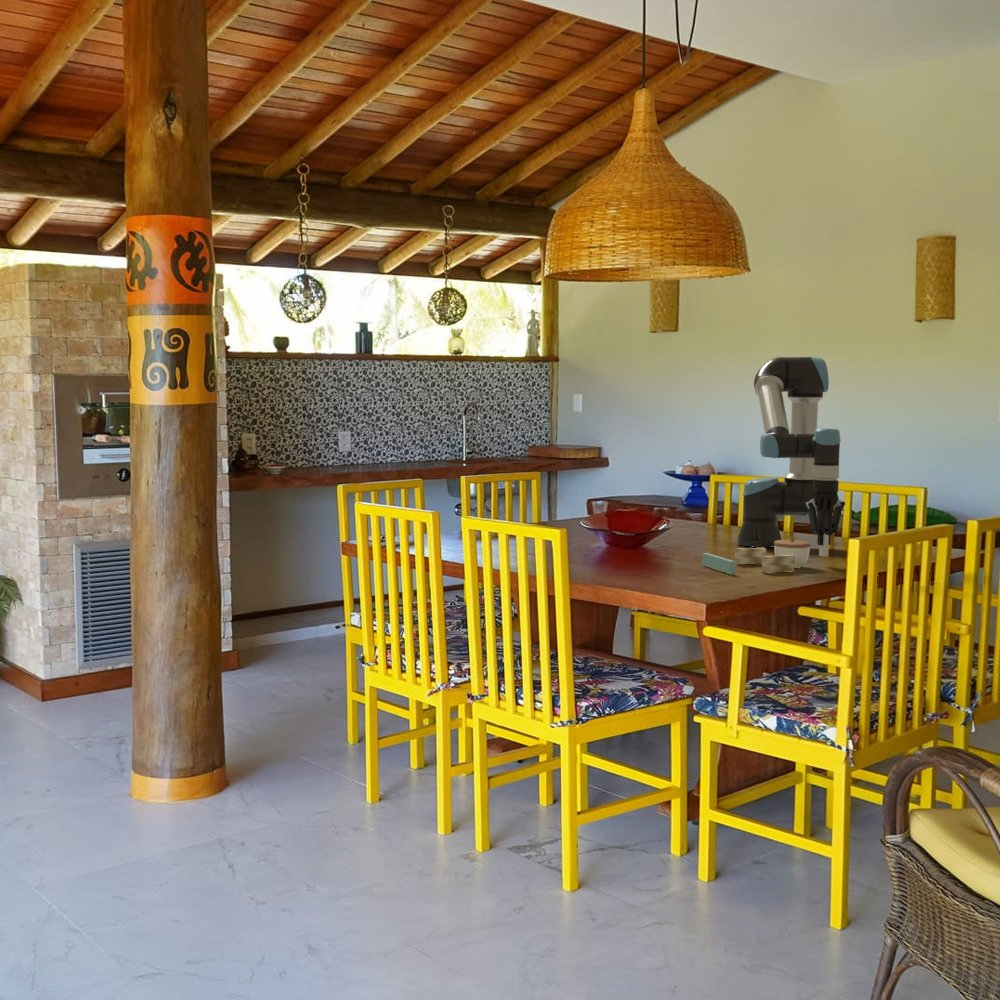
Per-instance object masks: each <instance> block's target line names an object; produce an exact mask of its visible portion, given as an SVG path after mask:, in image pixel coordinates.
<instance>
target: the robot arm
mask: <svg viewBox="0 0 1000 1000" xmlns="http://www.w3.org/2000/svg"><path fill="white" fill-rule="evenodd" d="M827 366H828V365H827V363H826V361H825V360H824V359H823V358H821V357H813V356H804V357H803V356H799V357H798V356H797V357H796V356H795V357H793V356H792V357H791V356H788V357H785V356H778V357H777V356H776V357H773V358H771V359H769V360H767V361H766V362H765V363H763V364H762V365H761V366H760V367H759V369H758V370H757V372H756V374H755V377H754V380H753V389H754V393H755V395H756V396H757V397H758V398H759V405H760V406H759V407H760V410H761V411H760V412H761V417H762V423H763V429H764V433H762V434H761V436H760V439H759V441H760V443H759V447H760V449H759V451H760V455H761V456H762V457H763V458H772V459H789V471H788V472H787V473H786V474H785V475H784V481H780V480H779V478H778V477H775V476H774V477H760V478H754V479H749V480H747V481H745V482H744V485H743V493H742V497H743V498H742V499H743V500H742V524H741V527H740V530H739V533H738V534H737V535H738V536H737V539H736V545H737V544H738V545H737V546H739V545H742V546H741V547H744V546H754V547H771V546H775V545H774V542H775V541H777V540H783V539H782V537H781V534H780V529H779V525H778V516H795V517H796V516H799V517H801V516H802V517H807V516H808V519H809V523H810V528H811V529H810V530H811V532H812V533H813V534H814V533H815V534H816V535H817V541H816V544H817V546H818V556H820V557H829V546H831V542H832V539H831V538H832V535H834V533H837V531H838V528H839V523H840V520H841V516H842V512H843V509H844V507H845V505H846V502H845V501H842V500H841V499H839V498H840V497H839V495H838V492H839V483H840V482H839V480H838V479H839V478H840V445H841V431H840V430H839V429H837V428H818V415H819V414H818V410H819V402H820V401H821V400H822V399H823V398H824V393H826V392H828V391H829V385H830V381H829V371H828V367H827ZM783 392H784V393H785V392H786V393H787V398H788V399H789V400H790V402H791V416H790V417H791V418H790V419H791V421H790V423H791V424H790V428H789V423H788V416H787V412H786V407H785V401H784V397H783Z"/></svg>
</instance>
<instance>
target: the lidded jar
mask: <svg viewBox="0 0 1000 1000" xmlns="http://www.w3.org/2000/svg"><path fill="white" fill-rule="evenodd" d="M774 545H775V546H774V556H776V555H795V564H794V567H802V568H803V566H804V565H806V563H807V562H808V559H809V558H810V554H811V553H810V552H811V542H810V541H807V540H800V539H795V536H790V539H782V540H777V541H775V542H774Z"/></svg>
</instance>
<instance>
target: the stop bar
mask: <svg viewBox="0 0 1000 1000" xmlns="http://www.w3.org/2000/svg"><path fill="white" fill-rule="evenodd" d="M735 564H736V561H735V560H731V559H728V558H725V557H723V556H722V557H721V556H719V555H716V554H711V553H709V552H702V565H703V566H702V565H701V566H702V567H704V566H707V567H710V568H713V569H716V570H719V571H722V572H725V573H727V574H726V575H728V574H730V575H729V576H733V575H732V574H735V575H736V565H735ZM707 567H706V568H707ZM710 568H709V569H710ZM713 569H712V570H713ZM716 570H715V571H716ZM719 571H718V572H719ZM722 572H721V573H722ZM725 573H724V574H725Z"/></svg>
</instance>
